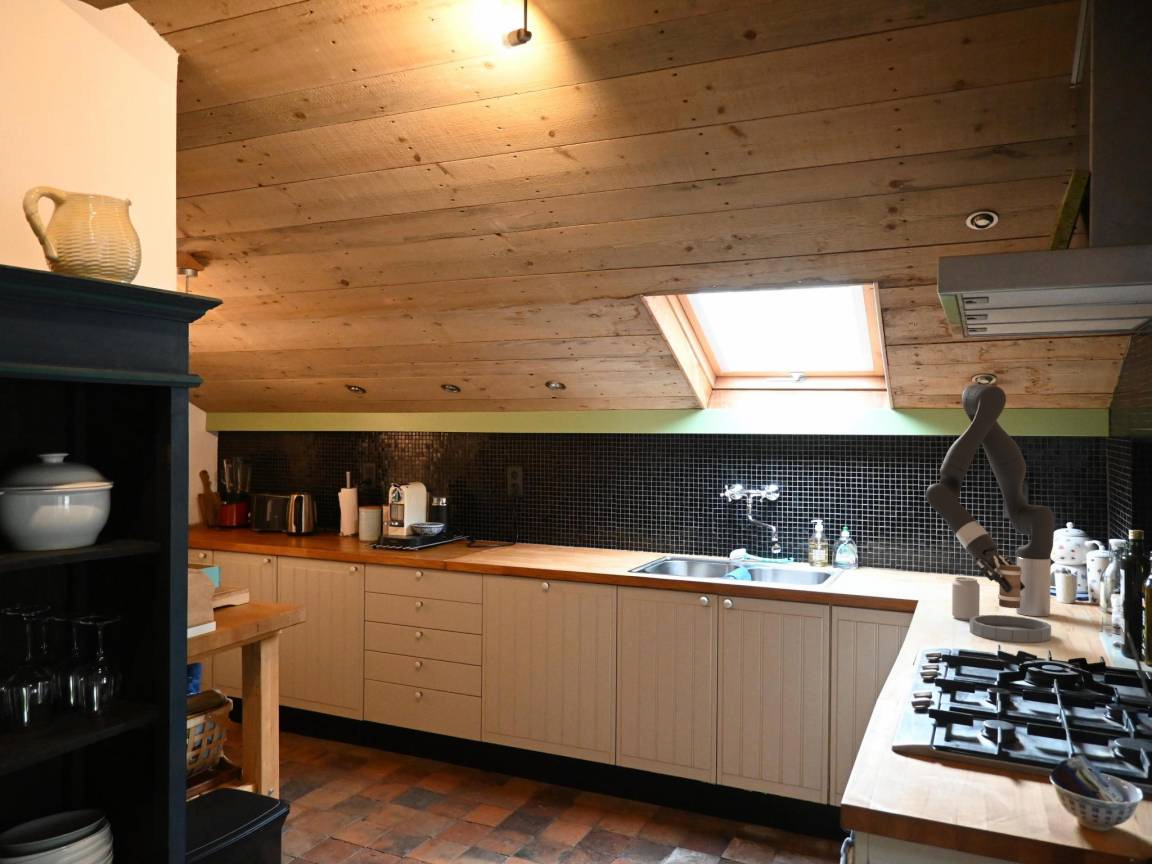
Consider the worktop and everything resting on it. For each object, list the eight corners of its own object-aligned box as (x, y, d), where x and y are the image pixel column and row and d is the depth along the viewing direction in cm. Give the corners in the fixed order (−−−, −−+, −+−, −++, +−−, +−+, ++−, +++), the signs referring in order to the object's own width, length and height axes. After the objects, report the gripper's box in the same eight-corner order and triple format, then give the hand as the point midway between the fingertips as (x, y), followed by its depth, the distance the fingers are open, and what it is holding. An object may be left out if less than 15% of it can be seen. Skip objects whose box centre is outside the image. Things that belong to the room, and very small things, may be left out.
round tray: (962, 624, 259) (962, 613, 259) (1037, 628, 256) (1037, 616, 256) (979, 640, 240) (979, 628, 240) (1061, 644, 236) (1061, 632, 236)
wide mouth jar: (946, 617, 271) (946, 577, 271) (965, 615, 274) (965, 575, 274) (966, 622, 264) (966, 580, 264) (985, 620, 267) (985, 579, 267)
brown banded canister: (995, 603, 251) (996, 564, 251) (1017, 605, 250) (1018, 565, 250) (1001, 607, 245) (1001, 567, 245) (1024, 608, 244) (1024, 568, 244)
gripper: (970, 534, 250) (1010, 583, 240) (1000, 531, 258) (1040, 580, 248) (952, 550, 254) (991, 600, 244) (982, 548, 262) (1021, 596, 252)
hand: (1016, 589), depth 246 cm, fingers closed on brown banded canister, 5 cm apart
